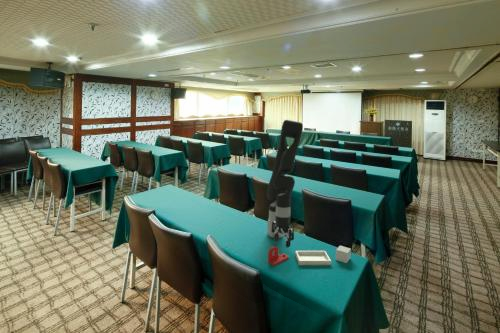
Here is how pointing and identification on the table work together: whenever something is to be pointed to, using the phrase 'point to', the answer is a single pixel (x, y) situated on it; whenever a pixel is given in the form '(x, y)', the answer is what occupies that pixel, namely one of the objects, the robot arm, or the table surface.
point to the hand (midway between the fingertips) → (282, 243)
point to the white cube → (343, 254)
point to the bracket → (276, 256)
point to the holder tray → (312, 258)
